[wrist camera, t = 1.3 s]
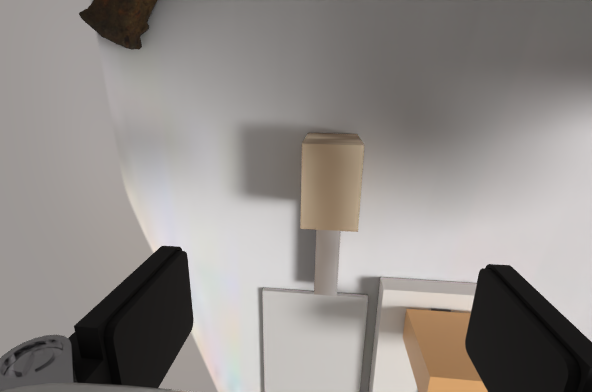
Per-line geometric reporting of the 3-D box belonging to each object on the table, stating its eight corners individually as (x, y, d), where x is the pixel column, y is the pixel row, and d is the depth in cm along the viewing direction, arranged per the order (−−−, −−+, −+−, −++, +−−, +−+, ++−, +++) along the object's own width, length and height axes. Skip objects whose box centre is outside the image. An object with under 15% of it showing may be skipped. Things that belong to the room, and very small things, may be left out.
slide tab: (479, 314, 28) (527, 385, 21) (472, 342, 29) (516, 420, 22) (406, 308, 28) (430, 376, 21) (402, 337, 29) (424, 411, 22)
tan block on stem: (357, 134, 27) (364, 145, 21) (346, 284, 31) (350, 327, 25) (308, 132, 27) (302, 143, 21) (304, 281, 31) (298, 323, 25)
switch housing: (494, 284, 29) (506, 298, 27) (460, 431, 35) (468, 452, 33) (380, 277, 30) (383, 290, 28) (365, 421, 36) (367, 441, 34)
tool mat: (367, 294, 31) (368, 298, 30) (356, 420, 36) (356, 425, 35) (263, 287, 32) (262, 290, 31) (265, 411, 37) (265, 415, 36)
